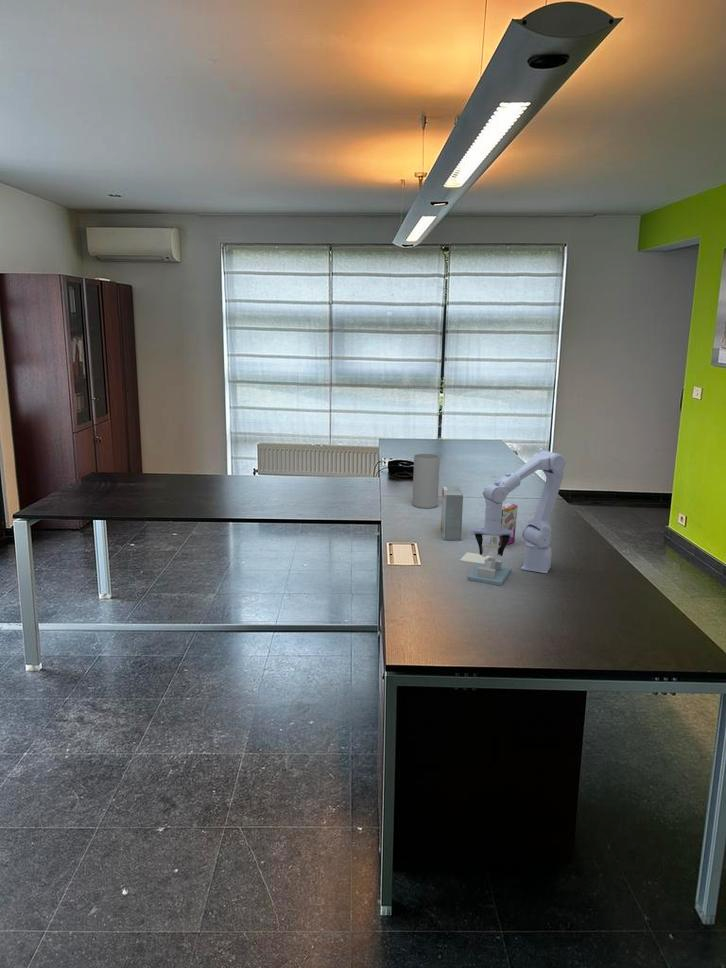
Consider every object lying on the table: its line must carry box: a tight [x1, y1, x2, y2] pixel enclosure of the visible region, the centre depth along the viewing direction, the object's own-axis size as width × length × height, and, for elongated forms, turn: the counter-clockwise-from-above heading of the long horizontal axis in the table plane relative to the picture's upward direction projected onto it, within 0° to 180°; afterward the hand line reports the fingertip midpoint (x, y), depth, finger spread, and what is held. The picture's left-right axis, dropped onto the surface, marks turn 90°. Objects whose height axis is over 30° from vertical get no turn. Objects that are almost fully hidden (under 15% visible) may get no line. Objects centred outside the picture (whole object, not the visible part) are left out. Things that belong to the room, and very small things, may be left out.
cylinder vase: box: [412, 453, 441, 509], centre depth 334 cm, size 12×12×25 cm
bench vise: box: [466, 555, 512, 587], centre depth 243 cm, size 12×16×6 cm
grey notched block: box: [482, 543, 500, 560], centre depth 241 cm, size 6×4×4 cm
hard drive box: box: [440, 485, 464, 541], centre depth 288 cm, size 16×8×20 cm, turn 178°
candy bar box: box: [489, 502, 518, 547], centre depth 277 cm, size 11×5×16 cm, turn 134°
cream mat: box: [459, 551, 491, 565], centre depth 260 cm, size 10×10×1 cm
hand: (490, 554), depth 242 cm, fingers closed on grey notched block, 7 cm apart
